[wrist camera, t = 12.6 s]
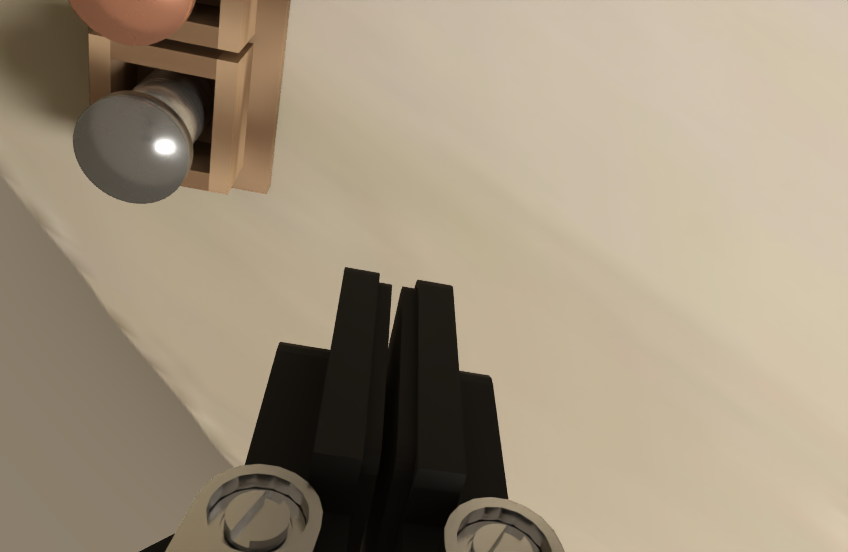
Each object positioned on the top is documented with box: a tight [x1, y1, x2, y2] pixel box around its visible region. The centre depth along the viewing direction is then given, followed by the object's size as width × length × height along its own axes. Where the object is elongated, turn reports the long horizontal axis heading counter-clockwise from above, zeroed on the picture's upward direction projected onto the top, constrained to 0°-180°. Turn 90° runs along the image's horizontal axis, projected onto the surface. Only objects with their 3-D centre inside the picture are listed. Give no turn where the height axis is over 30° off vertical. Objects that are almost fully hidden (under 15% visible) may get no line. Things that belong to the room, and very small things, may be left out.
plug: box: [73, 68, 215, 204], centre depth 37 cm, size 5×5×8 cm
